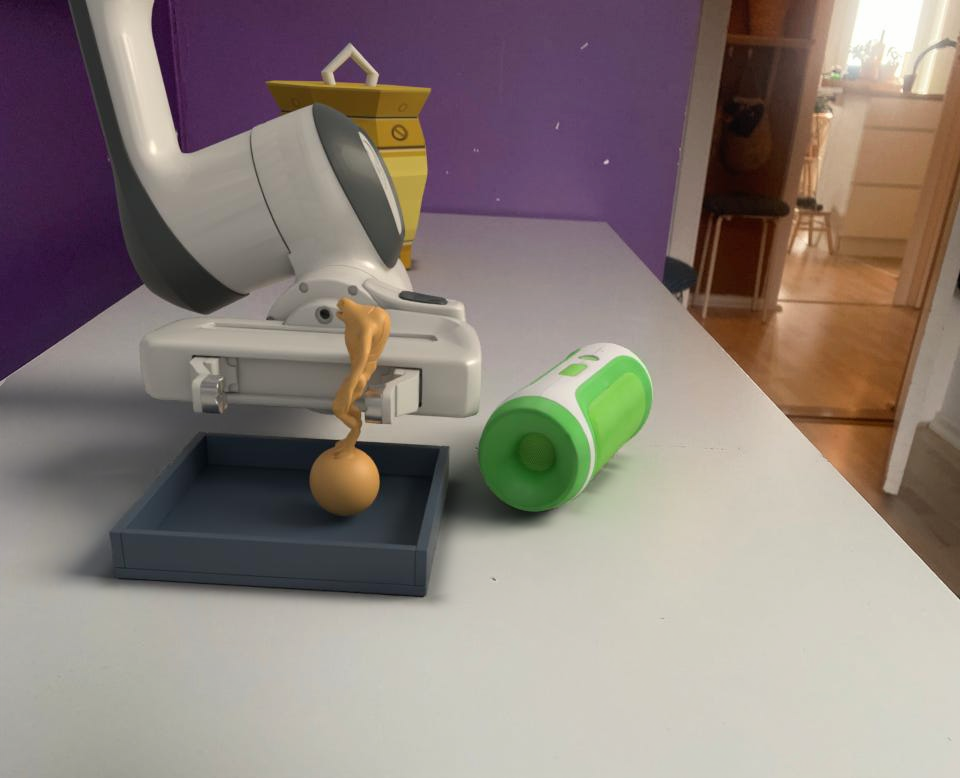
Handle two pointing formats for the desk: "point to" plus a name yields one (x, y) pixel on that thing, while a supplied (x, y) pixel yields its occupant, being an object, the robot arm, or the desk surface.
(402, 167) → the container
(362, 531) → the tray
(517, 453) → the speaker
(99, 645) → the desk surface
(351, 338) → the figurine
